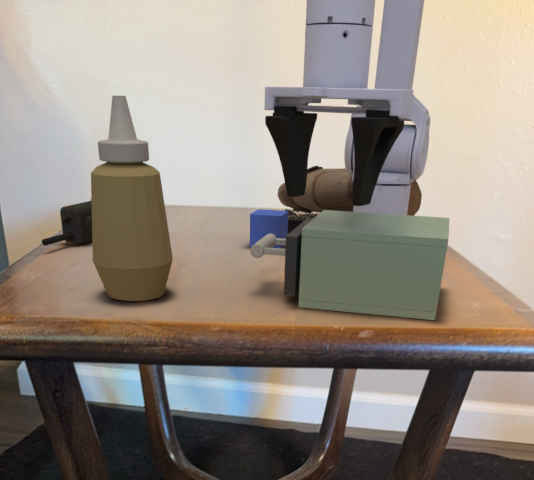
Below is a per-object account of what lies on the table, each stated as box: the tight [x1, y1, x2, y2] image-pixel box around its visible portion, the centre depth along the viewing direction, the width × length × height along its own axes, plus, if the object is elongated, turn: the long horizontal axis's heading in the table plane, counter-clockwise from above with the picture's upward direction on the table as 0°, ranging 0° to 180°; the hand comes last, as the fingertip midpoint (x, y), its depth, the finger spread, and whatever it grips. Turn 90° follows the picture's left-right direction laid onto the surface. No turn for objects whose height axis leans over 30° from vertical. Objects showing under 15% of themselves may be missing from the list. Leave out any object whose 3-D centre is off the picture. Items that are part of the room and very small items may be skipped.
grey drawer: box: [249, 219, 313, 297], centre depth 66 cm, size 17×10×6 cm, turn 76°
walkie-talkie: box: [41, 200, 92, 247], centre depth 86 cm, size 5×3×15 cm
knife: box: [284, 208, 298, 215], centre depth 104 cm, size 15×1×2 cm
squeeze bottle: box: [90, 95, 174, 302], centre depth 61 cm, size 8×8×18 cm
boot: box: [277, 165, 423, 216], centre depth 106 cm, size 8×24×17 cm
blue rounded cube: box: [249, 208, 288, 249], centre depth 87 cm, size 4×4×4 cm
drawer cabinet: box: [298, 210, 450, 321], centre depth 65 cm, size 14×12×8 cm
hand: (327, 200), depth 60 cm, fingers open, 7 cm apart
